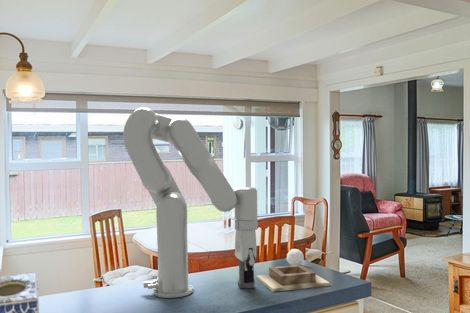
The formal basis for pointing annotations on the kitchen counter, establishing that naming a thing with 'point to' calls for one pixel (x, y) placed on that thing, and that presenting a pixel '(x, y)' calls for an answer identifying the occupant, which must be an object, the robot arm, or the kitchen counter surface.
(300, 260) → the ornament
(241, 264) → the stone
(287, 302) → the kitchen counter surface
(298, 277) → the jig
